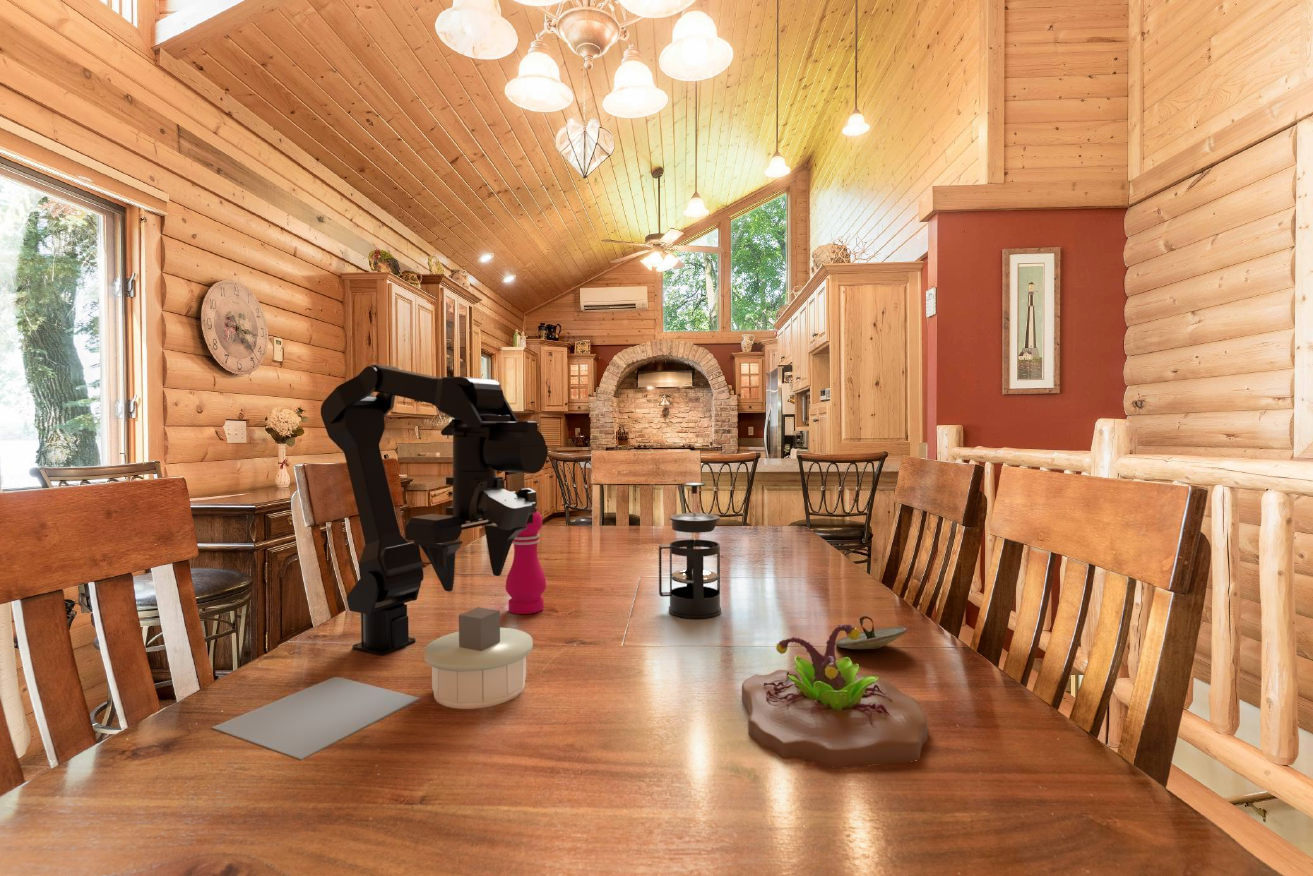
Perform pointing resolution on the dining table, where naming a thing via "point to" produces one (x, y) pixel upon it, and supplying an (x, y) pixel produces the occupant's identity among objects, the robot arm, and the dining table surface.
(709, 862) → the dining table surface
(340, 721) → the mat
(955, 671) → the dining table surface
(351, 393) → the robot arm
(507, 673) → the bowl
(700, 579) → the french press
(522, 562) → the pepper mill
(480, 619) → the cover
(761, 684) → the plant
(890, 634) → the lid
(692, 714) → the dining table surface
